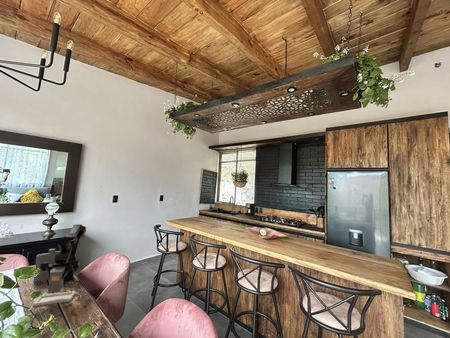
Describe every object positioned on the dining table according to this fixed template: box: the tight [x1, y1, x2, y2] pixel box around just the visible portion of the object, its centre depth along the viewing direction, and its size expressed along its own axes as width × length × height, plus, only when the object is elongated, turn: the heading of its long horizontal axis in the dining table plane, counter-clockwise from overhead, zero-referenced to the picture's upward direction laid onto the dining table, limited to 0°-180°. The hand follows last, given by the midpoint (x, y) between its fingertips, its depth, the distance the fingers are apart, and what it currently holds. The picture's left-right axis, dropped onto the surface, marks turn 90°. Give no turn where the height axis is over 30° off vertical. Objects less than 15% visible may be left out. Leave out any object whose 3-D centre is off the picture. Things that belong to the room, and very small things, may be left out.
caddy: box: [47, 267, 65, 294], centre depth 118 cm, size 5×6×12 cm
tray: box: [33, 290, 76, 307], centre depth 118 cm, size 9×17×2 cm, turn 113°
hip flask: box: [32, 248, 60, 284], centre depth 142 cm, size 16×4×20 cm, turn 137°
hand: (55, 280), depth 117 cm, fingers closed on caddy, 5 cm apart
